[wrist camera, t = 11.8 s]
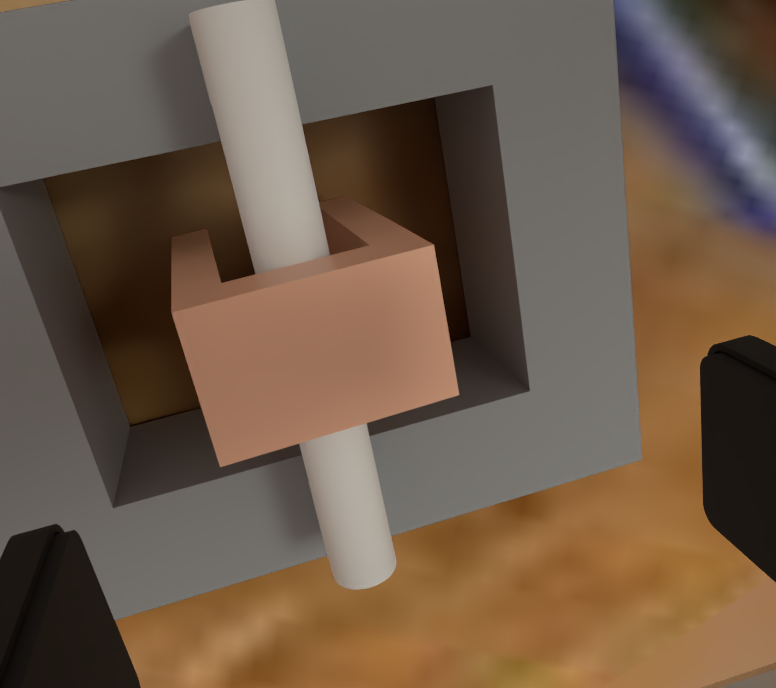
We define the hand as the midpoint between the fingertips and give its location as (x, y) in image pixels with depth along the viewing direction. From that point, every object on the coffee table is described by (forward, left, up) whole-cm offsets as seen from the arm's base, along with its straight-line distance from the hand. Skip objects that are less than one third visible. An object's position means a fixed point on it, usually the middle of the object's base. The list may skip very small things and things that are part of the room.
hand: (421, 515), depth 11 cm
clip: (+1, 0, -17) cm, 17 cm away
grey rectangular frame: (0, 0, -18) cm, 18 cm away
